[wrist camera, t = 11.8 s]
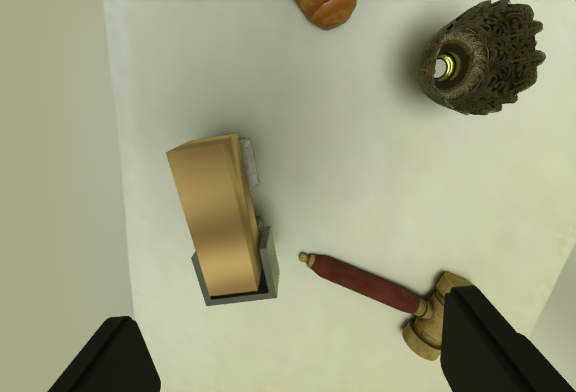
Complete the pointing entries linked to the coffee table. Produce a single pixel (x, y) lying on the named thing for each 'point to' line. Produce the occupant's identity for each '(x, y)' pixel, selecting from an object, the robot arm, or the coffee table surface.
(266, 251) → the cup bracket
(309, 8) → the pastry
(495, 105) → the cup
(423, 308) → the gavel
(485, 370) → the robot arm
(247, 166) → the grey tabbed slab
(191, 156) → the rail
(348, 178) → the coffee table surface
